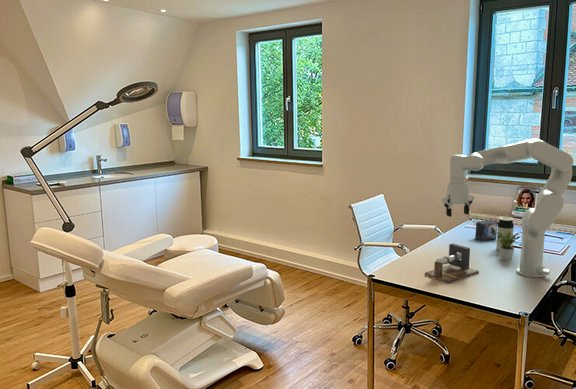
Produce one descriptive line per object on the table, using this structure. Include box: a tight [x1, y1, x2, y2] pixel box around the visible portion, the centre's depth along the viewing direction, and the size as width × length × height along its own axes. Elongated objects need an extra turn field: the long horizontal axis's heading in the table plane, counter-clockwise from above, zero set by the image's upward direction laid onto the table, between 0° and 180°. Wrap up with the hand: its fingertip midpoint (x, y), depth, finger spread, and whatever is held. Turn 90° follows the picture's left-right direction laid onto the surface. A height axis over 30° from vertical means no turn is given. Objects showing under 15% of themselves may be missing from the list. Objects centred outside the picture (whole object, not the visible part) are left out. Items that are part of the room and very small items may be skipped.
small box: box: [474, 219, 498, 242], centre depth 291 cm, size 11×6×10 cm, turn 105°
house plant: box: [495, 229, 522, 261], centre depth 252 cm, size 14×14×16 cm
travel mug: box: [496, 216, 515, 252], centre depth 268 cm, size 8×8×18 cm
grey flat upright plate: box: [448, 243, 471, 269], centre depth 236 cm, size 10×2×10 cm, turn 34°
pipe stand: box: [424, 252, 480, 284], centre depth 234 cm, size 14×22×10 cm, turn 124°
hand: (457, 215), depth 238 cm, fingers open, 9 cm apart
